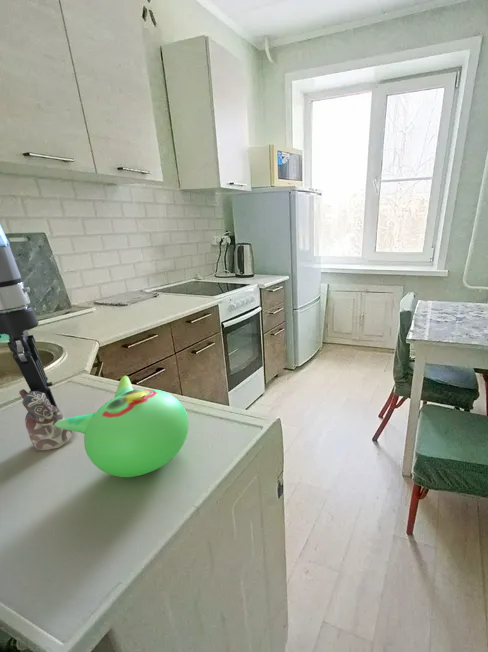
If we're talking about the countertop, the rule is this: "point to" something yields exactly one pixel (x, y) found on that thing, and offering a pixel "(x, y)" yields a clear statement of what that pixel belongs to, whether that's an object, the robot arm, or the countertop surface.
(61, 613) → the countertop surface
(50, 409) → the figurine
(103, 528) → the countertop surface
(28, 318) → the robot arm
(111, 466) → the toy bird
